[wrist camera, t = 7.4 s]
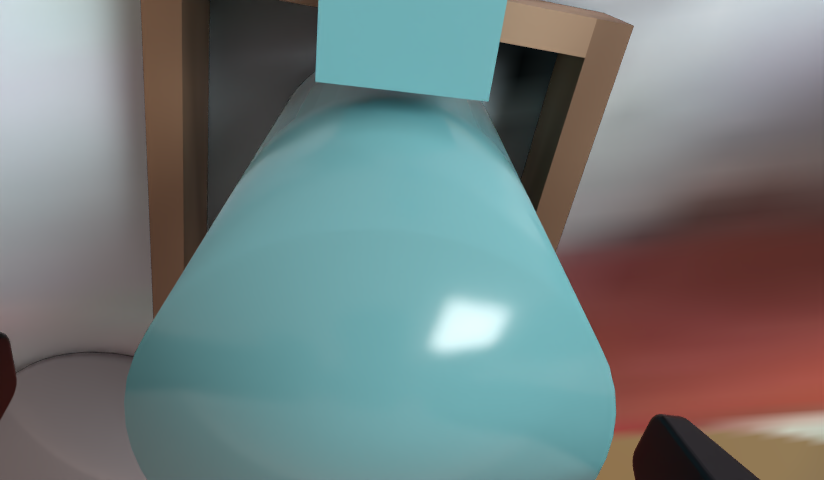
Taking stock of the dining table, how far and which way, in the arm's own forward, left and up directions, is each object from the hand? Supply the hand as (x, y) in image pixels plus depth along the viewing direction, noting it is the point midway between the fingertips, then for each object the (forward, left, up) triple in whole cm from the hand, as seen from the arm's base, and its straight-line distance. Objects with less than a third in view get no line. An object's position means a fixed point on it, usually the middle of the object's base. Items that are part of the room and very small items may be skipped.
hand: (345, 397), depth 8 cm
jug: (0, -3, -9) cm, 9 cm away
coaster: (+7, +12, -9) cm, 16 cm away
